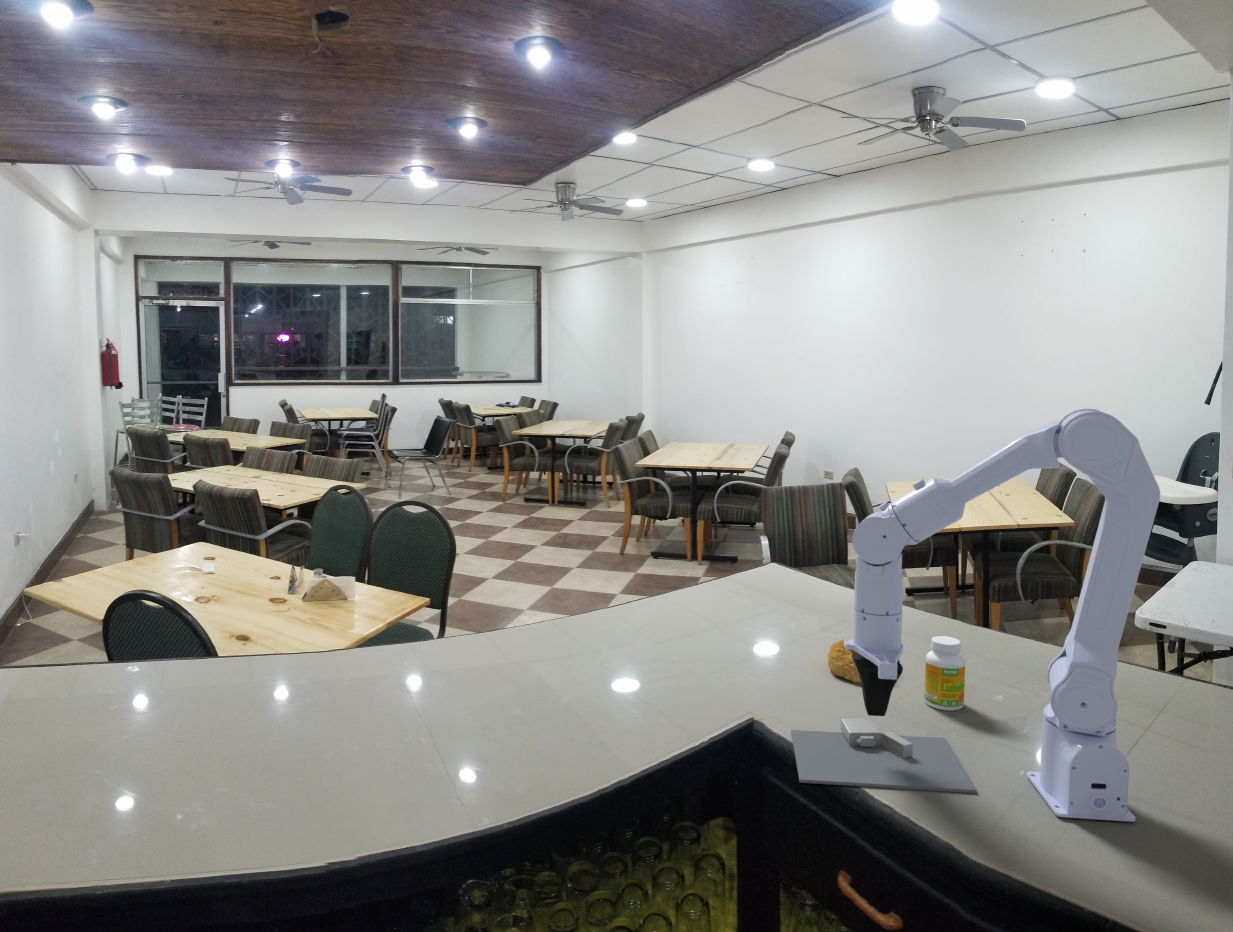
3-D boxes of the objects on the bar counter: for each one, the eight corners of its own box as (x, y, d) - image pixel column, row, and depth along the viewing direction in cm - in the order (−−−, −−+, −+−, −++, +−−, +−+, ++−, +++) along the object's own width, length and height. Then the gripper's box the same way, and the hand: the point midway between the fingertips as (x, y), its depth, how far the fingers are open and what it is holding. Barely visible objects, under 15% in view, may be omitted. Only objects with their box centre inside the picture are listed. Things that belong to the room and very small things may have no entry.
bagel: (829, 683, 124) (830, 654, 124) (825, 660, 135) (826, 633, 135) (895, 688, 122) (896, 659, 122) (886, 665, 133) (887, 637, 133)
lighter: (840, 730, 106) (857, 758, 98) (840, 718, 106) (857, 745, 98) (893, 730, 106) (914, 758, 98) (893, 718, 106) (914, 745, 98)
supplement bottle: (940, 713, 112) (942, 647, 111) (916, 699, 118) (918, 636, 117) (972, 708, 114) (974, 644, 113) (947, 694, 119) (949, 632, 118)
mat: (976, 793, 91) (976, 789, 91) (799, 782, 94) (799, 779, 93) (945, 740, 104) (945, 737, 104) (791, 732, 107) (791, 729, 107)
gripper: (837, 592, 106) (835, 689, 107) (853, 625, 91) (851, 737, 93) (891, 594, 105) (889, 692, 106) (917, 627, 90) (913, 740, 92)
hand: (875, 713), depth 99 cm, fingers closed
